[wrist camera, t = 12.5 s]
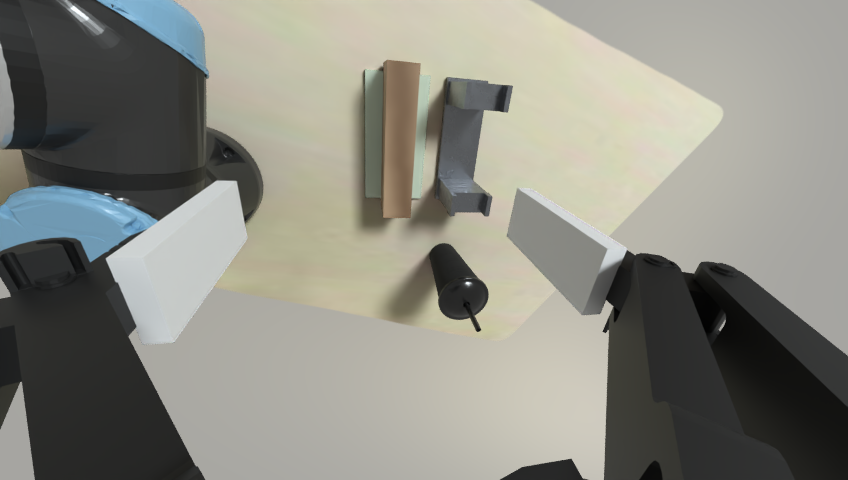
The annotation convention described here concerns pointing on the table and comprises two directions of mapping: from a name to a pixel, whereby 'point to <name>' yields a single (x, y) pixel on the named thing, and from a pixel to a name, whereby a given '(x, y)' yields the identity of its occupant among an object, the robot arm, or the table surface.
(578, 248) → the robot arm
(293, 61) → the table surface
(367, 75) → the mat
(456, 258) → the drinking cup
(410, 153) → the rail
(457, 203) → the rack
